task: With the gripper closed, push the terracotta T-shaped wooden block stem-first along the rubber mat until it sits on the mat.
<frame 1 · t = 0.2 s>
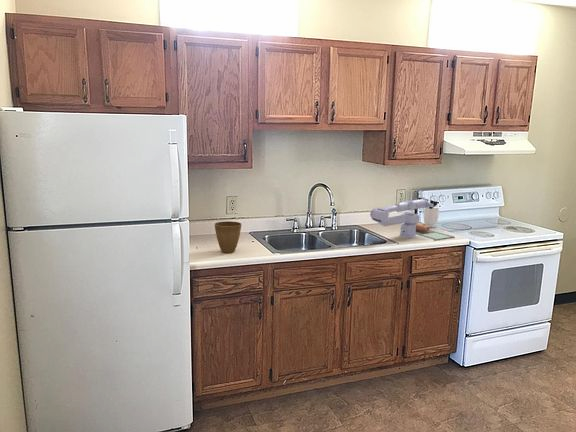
hand: (432, 202, 321), 21 cm above the worktop, tool horizontal, fingers open, 7 cm apart
t block: (420, 231, 328), point 1 cm above the worktop, touching mat
plant pot: (228, 251, 270), on the worktop
jar: (430, 226, 347), on the worktop
mat: (436, 236, 316), on the worktop
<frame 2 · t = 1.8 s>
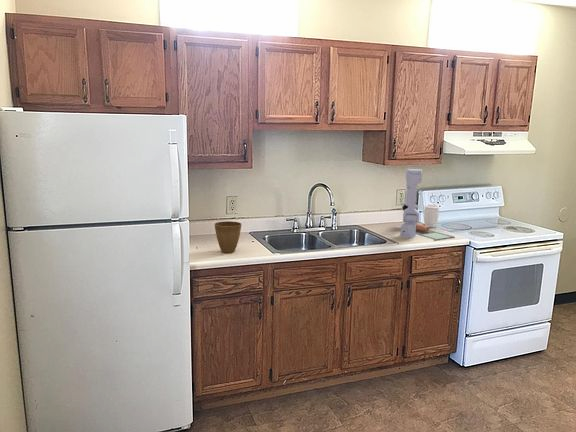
hand: (409, 217, 336), 8 cm above the worktop, tool pointing down, fingers open, 5 cm apart
nothing on the worktop moved.
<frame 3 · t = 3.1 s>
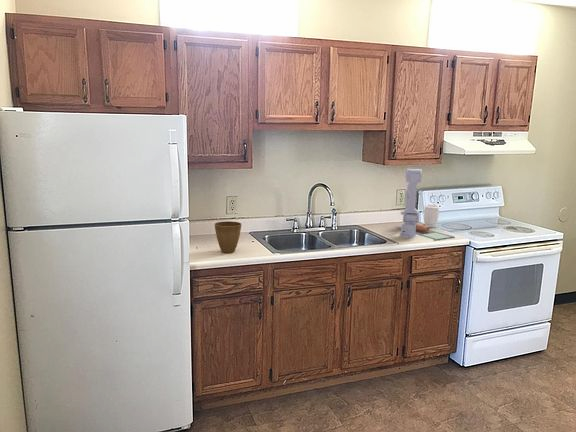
hand: (408, 226, 337), 2 cm above the worktop, tool pointing down, fingers closed
nothing on the worktop moved.
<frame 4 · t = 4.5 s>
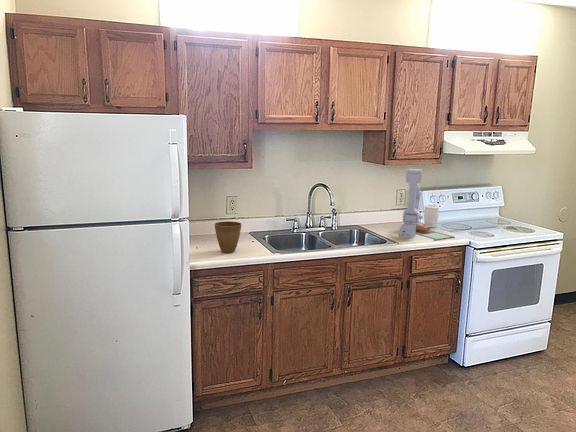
hand: (413, 227, 334), 2 cm above the worktop, tool pointing down, fingers closed
t block: (420, 231, 328), point 1 cm above the worktop, touching gripper, mat
everything else where it was.
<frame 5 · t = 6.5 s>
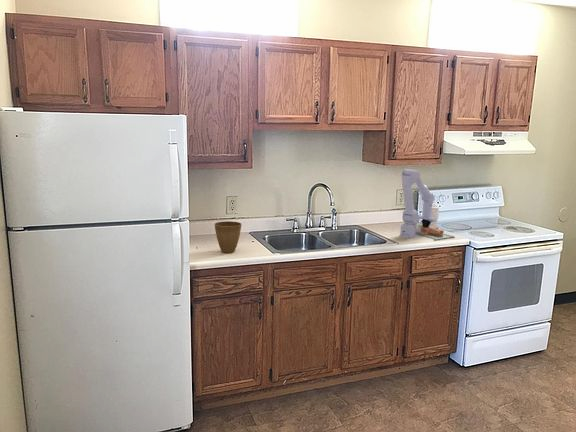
hand: (425, 230, 324), 2 cm above the worktop, tool pointing down, fingers closed
t block: (433, 235, 318), point 1 cm above the worktop, touching gripper, mat
everything else where it was.
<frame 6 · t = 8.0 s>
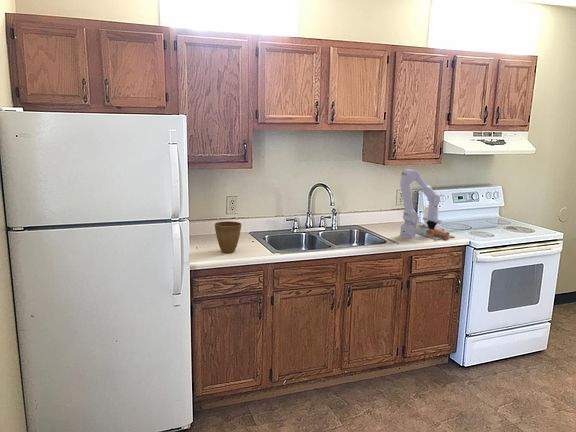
hand: (431, 232, 320), 2 cm above the worktop, tool pointing down, fingers closed
t block: (439, 236, 314), point 1 cm above the worktop, touching gripper, mat
everything else where it was.
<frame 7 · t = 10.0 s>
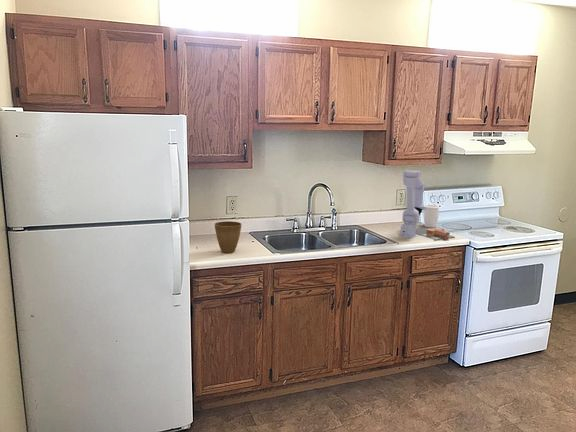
hand: (416, 218, 329), 9 cm above the worktop, tool pointing down, fingers closed
t block: (439, 236, 314), point 1 cm above the worktop, touching mat
everything else where it was.
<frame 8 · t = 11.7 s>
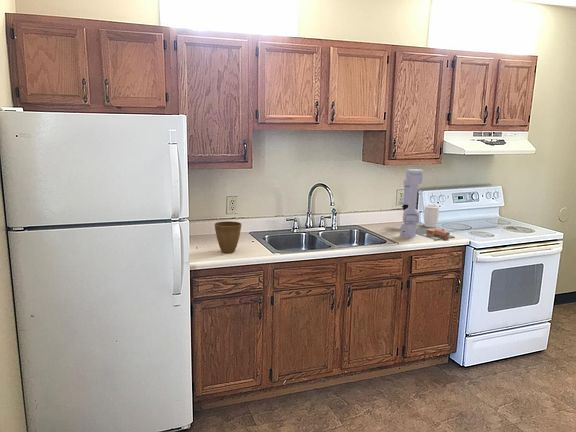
hand: (406, 215, 335), 9 cm above the worktop, tool pointing down, fingers closed
nothing on the worktop moved.
at the end: t block 2.9 cm off-centre on the mat, point 0.6 cm above the mat's base; t block tilted 0°; t block moved 16.9 cm from its start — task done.
